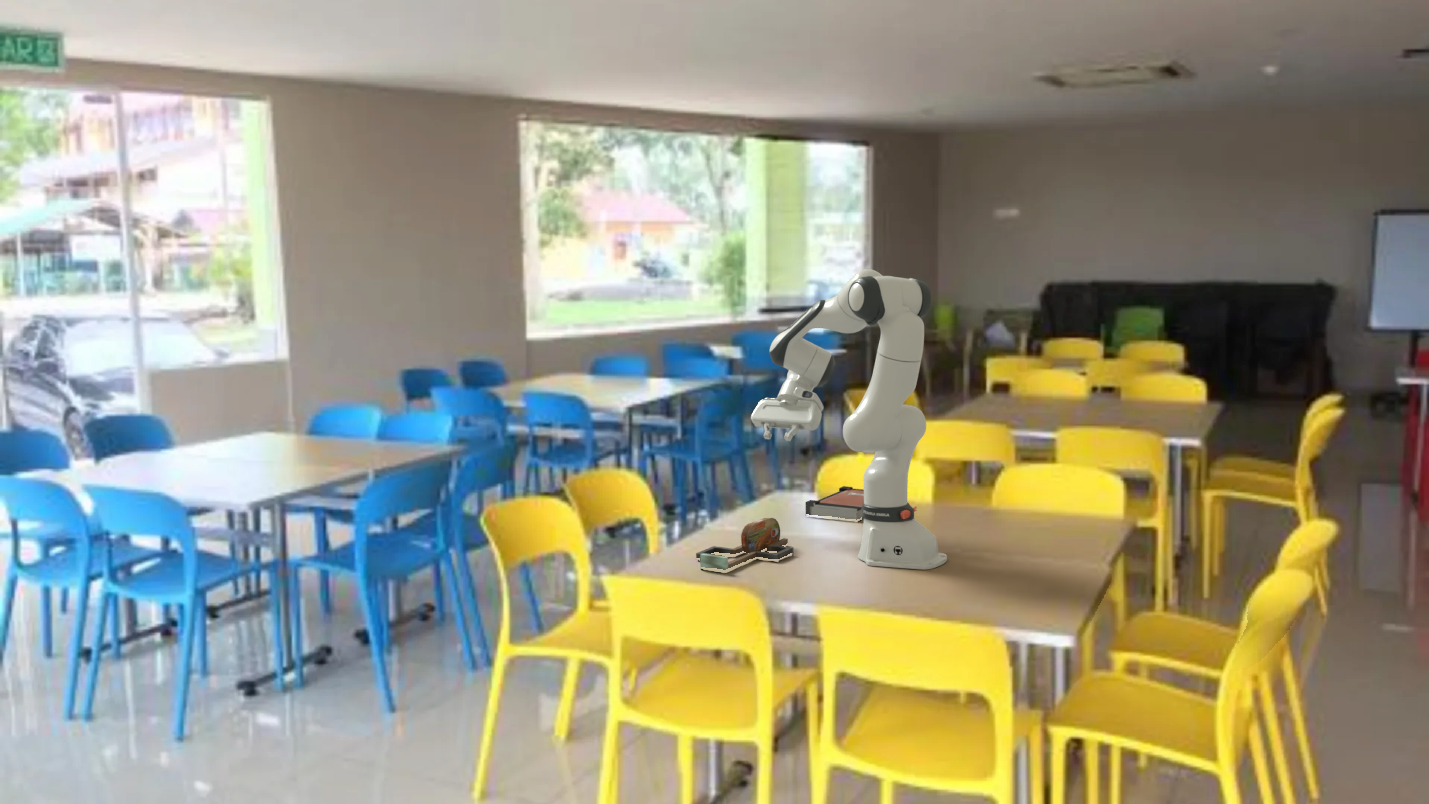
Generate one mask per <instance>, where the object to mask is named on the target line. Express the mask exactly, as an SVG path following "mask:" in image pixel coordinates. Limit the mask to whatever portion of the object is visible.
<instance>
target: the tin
mask: <svg viewBox="0 0 1429 804" xmlns="http://www.w3.org/2000/svg"><path fill="white" fill-rule="evenodd" d="M740 539H741V542H740V543H741V545H742V548H743V550H744V552H746V553H745V554H747V553H751V552H753V551H761V550H763V549H765V548H767V545H769V544H772V543H774V542H776V541H779V540H781V528H780V524H779V522H778V520H777V519H776V518H773V517H764V518H761V519H757V520H755V521H753V522H750V523H747V524H746V525H745V526H744V527H743V529H742V530H741V534H740Z"/></svg>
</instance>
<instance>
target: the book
mask: <svg viewBox="0 0 1429 804" xmlns="http://www.w3.org/2000/svg"><path fill="white" fill-rule="evenodd" d="M863 502H864V488H862V489H861V488H853V486H845V485H843V486H841V487H839V488H838V491H836V492H834V493H832V494H829V495H828V496H825V497H823V498H820V499H817V500H814V499H810V500H807V501H805V515H806V514H809V515H818V516H832V517H838V518H839V517H840V518H845V519H856V520H857V519H860V518H861V517H862V503H863Z"/></svg>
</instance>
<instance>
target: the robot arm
mask: <svg viewBox="0 0 1429 804" xmlns="http://www.w3.org/2000/svg"><path fill="white" fill-rule="evenodd" d="M931 305H932V293H931V289H930V288H929V285H928V284H927V283H926V282H924V281H923V280H919V279H916V278H911V277H910V278H905V277H899V276H898V277H897V276H893V275H892V276H891V275H883V274H881V273H880V272H878V271H877V270H874V269H870V268H865V269H864V268H863V269H862V270H859V271H858V272H857V273H856V274H854V275H853V276H852V277H851V278H849V280H848V281H846V284H844V285H843V287H842V288H841V290H840V291H838V294H836V295H835V296H833V297H831V298H828V299H819V300H817V301H816V302H814V303H813V304H812V305H811V306H809V307H808V308H807V309H806V310H805V311H804V312H803V313H802V314H801V315H800V316H799V317H798V318H797V319H796V320H794V322H792V323H791V324H790V325H789V326H788V327H787V328H785V329H784V330H782V331H781V332H780V333H779V334H777V335H776V337H775V338H774V339H773V340H772V342H771V344H770V346H769V351H768V353H769V356H770V359H771V361H772V363H773V364H774V365H777V366H779V367H780V368H781V367H782V368H783V369H786V370H787V371H788V372H787V374H786V379H785V381H784V382H783V383H782V385H781V387H780V390H779V392H778V394H777V397H765V398H763V399H761V400H759V401H758V404H757V405H756V407H755V408H754V409H753V410H752V411H753V412H752V413H751V415H750V421H751V422H752V424H753V425H754V426H755V427H756V428H764V432H763V438H764V440H771V438H772V435H773V434H772V432H771V430H772V429H787V430H789V431H787V432H785V433H784V436H783V439H784V441H785V442H786V441H787V442H791V440H792V439H793V437H795V435H797V434H798V433H799V431H801V430H802V431H815V430H817V429H818V428H819V426H820V424H821V420H822V415H823V413H822V412H823V411H824V404H823V403H822V401H821V399H820V397H819V396H818V394H817V393H815V392H813V391H814V388H818V387H822V386H823V385H826V384H827V383H828V381H830V378H831V376H832V373H833V371H834V367H835V366H836V361H835V358H834V355H833V353H831V352H830V351H828V350H827V349H824V348H823V347H821V346H819V345H817V344H814V343H813V342H811V341H809V340H807V339H805V338H804V336H805V335H806V334H808V333H809V332H810V331H811V330H813V329H824V330H829V331H834V332H838V333H841V334H854V333H858V332H860V331H863V329H864V328H866V326H867V325H868V326H870V327H872V326H874V325H876V324H878V327H879V329H880V338H879V341H878V342H879V343H878V346H877V350H876V354H875V355H876V356H875V362H874V365H873V371H872V374H871V375H872V376H871V379H870V382H869V384H868V386H867V389H866V392H864V395H863V397H862V399H861V401H860V402H859V405H858V406H857V408H856V409H855V410H854V411H853V412H852V413H851V414H850V415H849V416H848V417H847V418H846V419H845V421H844V423H843V427H842V438H843V440H844V442H845V444H846V445H847V447H848V448H849V449H850V450H852V451H854V452H857V453H863V454H873V453H874V456H873V458H872V460H871V462H870V464H869V465H868V466H867V467H866V469H865V470H864V473H863V490H864V502H863V503H862V521H861V522H862V524H863V525H862V536H861V543H860V546H859V552H858V555H857V558H858V559H859V560H861V561H863V562H864V563H865V564H866V565H867V566H869V567H870V566H873V567H882V568H883V567H886V568H899V569H912V570H931V569H935V568H937V567H940V566H942V565H944V564H946V562H947V561H948V556H947V554H946V553H943V552H939V546H938V540H937V537H936V535H935V534H934V533H932V532H931V531H930V530H929V529H927V528H926V527H925V526H924V525H923V524H922V523H920V522H919V520H917V519H916V518H915V512H917V511H918V510H917V507H918V506H914V507H913V506H912V505H911V504H910V503H909V501H908V488H909V487H908V485H909V483H908V482H909V479H908V478H909V471H910V470H909V469H910V467H911V466H910V465H911V461H912V458H913V456H914V452H915V449H916V447H917V445H918V444H919V442H920V441H921V439H922V438H923V437H924V436H925V433H926V430H927V419H926V417H925V414H924V413H923V411H922V410H921V409H920V408H918V407H916V406H914V405H909V404H904V403H905V402H906V400H907V399H908V398H909V397H910V396H911V395H912V394H913V393H914V391H915V389H916V386H917V384H918V383H917V382H918V378H919V373H920V367H921V363H922V358H923V352H924V344H925V343H924V341H925V324H924V321H923V318H924V317H925V316H926V315H927V314H928V313H929V312H930V310H931Z"/></svg>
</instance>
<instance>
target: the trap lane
mask: <svg viewBox="0 0 1429 804" xmlns="http://www.w3.org/2000/svg"><path fill="white" fill-rule="evenodd" d="M787 543H788V544H789V539H788V538H785V537H784V538H780V539H779V541H776V542H774V543H772V544H769V545H767V551H777V553H769V552H767V551H766V552H761V551H753V552H751V553H749V554H747V553H745V554H743V555H741V556H740V557H739V556H738V557H736V558H734V559H733V560H730V561H729V558H728V557H725V556H722V555H715V554H711V553H714V552H719V553H730V554H736V553H740V552H742V551H744V550H743V548H742V544H741V545H738V546H736V547H734V548H730V547H723V546H717V545H716V546H715V545H713V546H710V547H708V548H705V549H703V550H701V551H698V552H695V557H696V558H700V561H699V562H700V568H701V567H705V568H717V569H723V570H726V569H728V568H731V567H733V566H735V565H738V564H740V563H742V562H746V561H747V560H749V559H753V558H755V557H763V558H768V559H780V558H782V557H784V556H787V555H788V554H790V553H793V554H794V547H792V546H791V547H790V546H787V547H784V546H782V545H786V544H787Z"/></svg>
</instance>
